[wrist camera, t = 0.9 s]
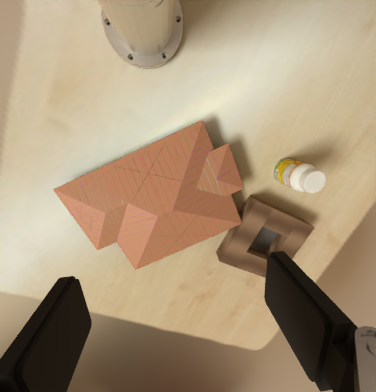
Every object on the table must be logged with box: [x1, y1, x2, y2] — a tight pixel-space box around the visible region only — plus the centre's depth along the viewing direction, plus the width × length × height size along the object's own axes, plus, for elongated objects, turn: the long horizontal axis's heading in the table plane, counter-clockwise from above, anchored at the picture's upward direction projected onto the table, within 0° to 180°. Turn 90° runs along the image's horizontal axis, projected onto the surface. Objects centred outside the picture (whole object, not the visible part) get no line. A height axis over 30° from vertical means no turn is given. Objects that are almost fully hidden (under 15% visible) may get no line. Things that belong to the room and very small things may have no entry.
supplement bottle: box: [273, 159, 326, 193], centre depth 39 cm, size 5×5×10 cm
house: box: [53, 120, 244, 270], centre depth 39 cm, size 23×33×8 cm
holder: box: [216, 196, 314, 278], centre depth 46 cm, size 16×16×4 cm
